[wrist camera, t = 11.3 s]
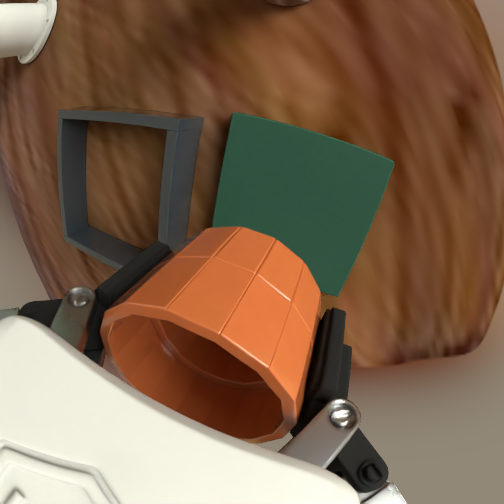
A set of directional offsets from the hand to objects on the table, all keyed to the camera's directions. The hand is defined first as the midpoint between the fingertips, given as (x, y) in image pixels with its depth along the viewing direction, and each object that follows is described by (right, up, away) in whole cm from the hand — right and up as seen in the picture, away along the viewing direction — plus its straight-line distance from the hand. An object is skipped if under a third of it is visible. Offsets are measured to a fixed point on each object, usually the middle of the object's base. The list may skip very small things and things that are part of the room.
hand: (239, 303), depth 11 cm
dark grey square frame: (-13, +10, +16) cm, 23 cm away
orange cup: (0, 0, +1) cm, 1 cm away
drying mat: (+4, +6, +11) cm, 13 cm away
